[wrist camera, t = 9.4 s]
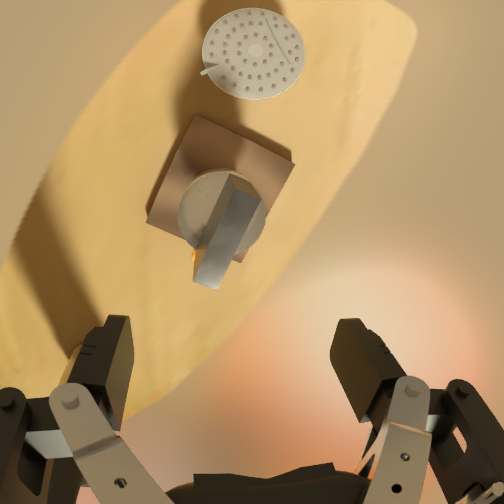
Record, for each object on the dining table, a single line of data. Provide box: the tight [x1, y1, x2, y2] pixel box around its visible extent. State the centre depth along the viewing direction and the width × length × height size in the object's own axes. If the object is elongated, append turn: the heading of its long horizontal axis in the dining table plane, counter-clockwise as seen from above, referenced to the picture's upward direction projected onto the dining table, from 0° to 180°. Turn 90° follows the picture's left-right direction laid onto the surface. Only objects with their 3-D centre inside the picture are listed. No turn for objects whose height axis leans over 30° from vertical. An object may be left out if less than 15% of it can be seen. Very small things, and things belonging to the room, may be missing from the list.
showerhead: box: [200, 8, 306, 100], centre depth 27 cm, size 9×7×10 cm
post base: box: [146, 115, 295, 263], centre depth 32 cm, size 13×12×8 cm
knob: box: [178, 168, 266, 290], centre depth 25 cm, size 7×8×8 cm
